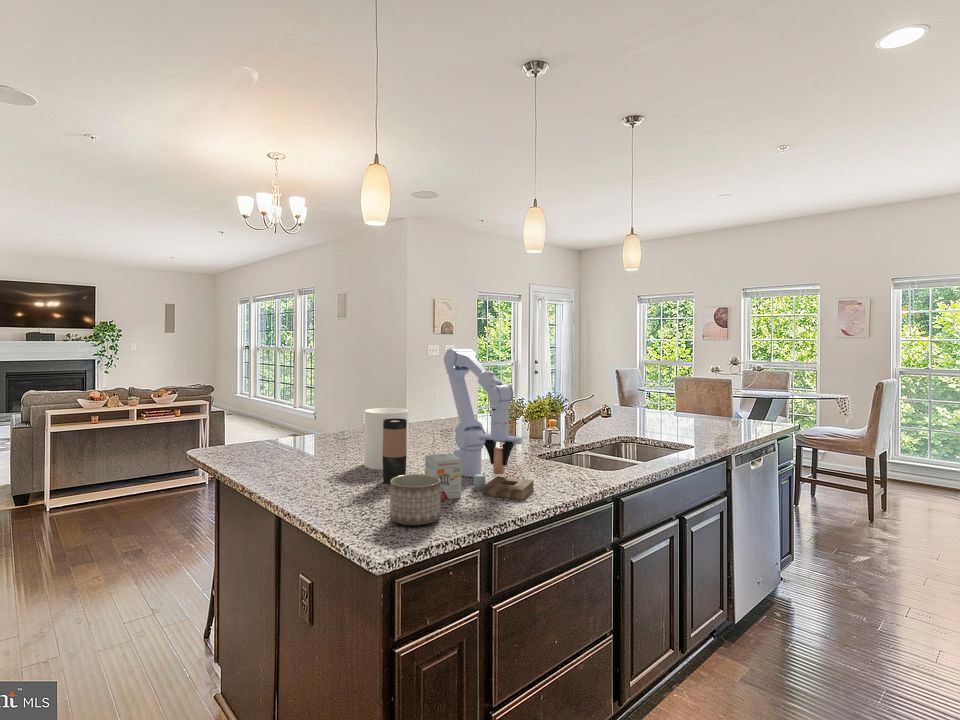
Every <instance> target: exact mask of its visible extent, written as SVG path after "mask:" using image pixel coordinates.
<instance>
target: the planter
mask: <svg viewBox="0 0 960 720" xmlns="http://www.w3.org/2000/svg"><path fill="white" fill-rule="evenodd" d="M389 486H390V487H389V489H390V490H389V491H390V492H389V518H390V520H391V521H392V522H394V523H396V524H400V525H406V526H419V525H420V526H421V525H427V524H431V523H434V522H436V521H439V519H440V518H441V500H440V494H441V480H440V478H438V477H436V476H432V475H425V473H421V474H420V473H417V474H416V473H412V474H411V473H410V474H406V475H401V476H397V477H394V478H392V479H391V480H390V484H389Z"/></svg>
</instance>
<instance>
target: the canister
mask: <svg viewBox="0 0 960 720" xmlns="http://www.w3.org/2000/svg"><path fill="white" fill-rule="evenodd" d="M409 417H410V414H409V409H407V408H398V407H379V408H378V407H376V408H368V409H365V410H364V432H363V433H364V436H363V437H364V442H363V443H364V445H363V446H364V453H363V456H364V459H363V463H364V464H363V466H364V467H365V468H367V469H371V470H378V471H379V470H382V471H383V420H385V419H405V420H406V421H407V455H406V467H407V466H408V465H409V428H410V427H409V421H410V419H409Z"/></svg>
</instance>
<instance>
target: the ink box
mask: <svg viewBox="0 0 960 720" xmlns="http://www.w3.org/2000/svg"><path fill="white" fill-rule="evenodd" d="M424 458H425V459H424V460H425V463H424V466H425V467H424V474H425V475H432V476H436V477H438V478H440V480H441V494H440V501H444V500H452V499H459V498H462V476H461V474H462V459H461V458H459V457H457V456H455V455H453V453H437V454H435V453H434V454H425V457H424Z"/></svg>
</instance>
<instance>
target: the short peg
mask: <svg viewBox="0 0 960 720" xmlns="http://www.w3.org/2000/svg"><path fill="white" fill-rule="evenodd" d="M485 484H486V474H476V475H474V477H473V489H474V490H476V491H477V490H479V491H481V490H483V491H484V485H485Z"/></svg>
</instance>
